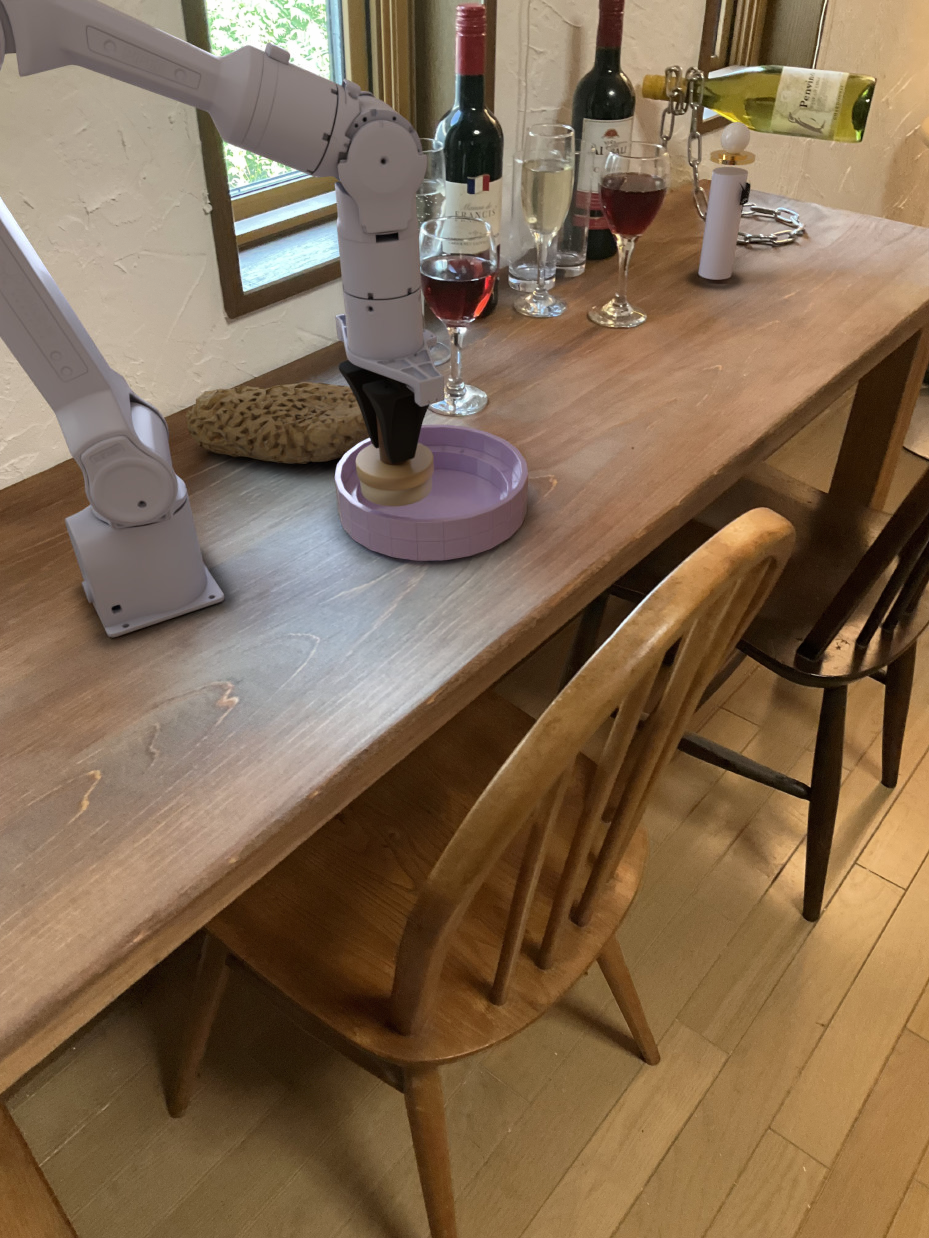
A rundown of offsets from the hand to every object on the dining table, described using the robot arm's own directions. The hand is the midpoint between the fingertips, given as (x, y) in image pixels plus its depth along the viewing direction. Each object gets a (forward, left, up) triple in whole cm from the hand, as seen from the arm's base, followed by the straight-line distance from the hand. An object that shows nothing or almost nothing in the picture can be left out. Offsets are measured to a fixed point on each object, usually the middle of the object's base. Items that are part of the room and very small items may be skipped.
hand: (393, 451), depth 78 cm
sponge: (-1, +21, -10) cm, 23 cm away
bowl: (+5, +4, -10) cm, 11 cm away
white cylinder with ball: (+68, +36, -10) cm, 78 cm away
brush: (0, 0, -3) cm, 3 cm away
